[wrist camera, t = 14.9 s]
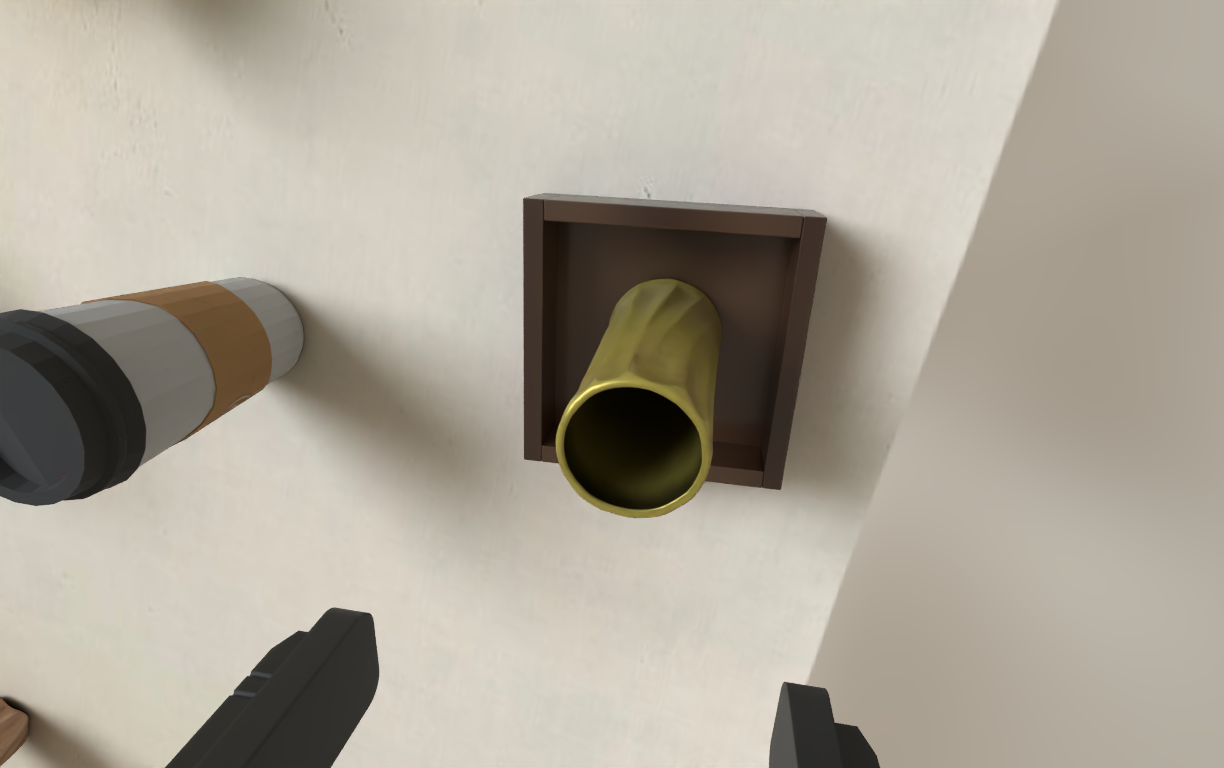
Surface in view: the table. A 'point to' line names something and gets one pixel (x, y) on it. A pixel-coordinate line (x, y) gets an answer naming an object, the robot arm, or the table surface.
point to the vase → (645, 404)
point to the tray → (694, 254)
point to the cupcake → (11, 730)
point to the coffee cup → (130, 379)
